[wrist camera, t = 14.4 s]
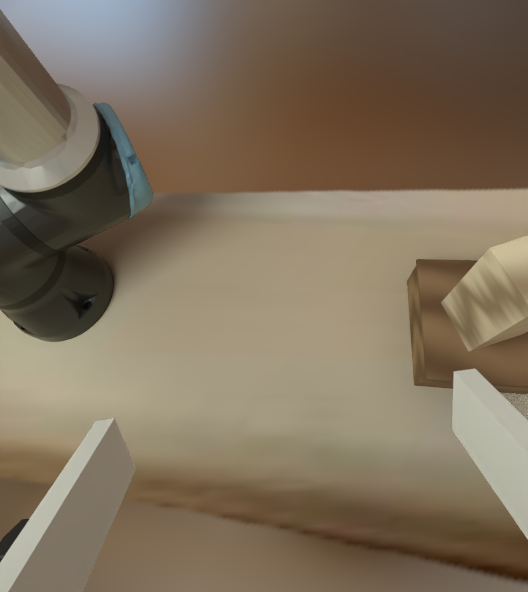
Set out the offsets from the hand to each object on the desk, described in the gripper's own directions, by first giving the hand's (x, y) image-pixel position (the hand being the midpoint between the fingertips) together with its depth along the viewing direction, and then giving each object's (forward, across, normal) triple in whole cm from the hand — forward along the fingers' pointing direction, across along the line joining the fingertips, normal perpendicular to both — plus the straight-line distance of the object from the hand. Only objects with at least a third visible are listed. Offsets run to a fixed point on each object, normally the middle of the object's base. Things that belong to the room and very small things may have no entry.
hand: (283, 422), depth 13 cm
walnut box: (+28, +22, -14) cm, 38 cm away
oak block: (+24, +21, -10) cm, 34 cm away
